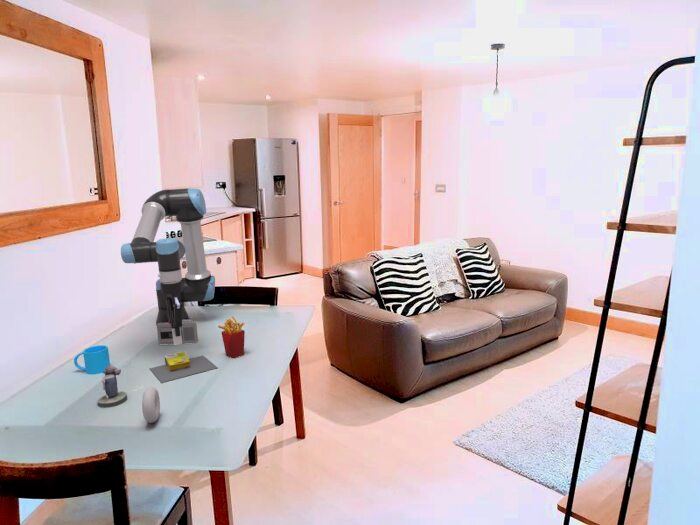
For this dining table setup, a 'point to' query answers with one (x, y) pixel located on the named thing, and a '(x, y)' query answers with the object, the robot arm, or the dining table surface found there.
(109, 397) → the figurine
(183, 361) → the crayon box
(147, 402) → the donut
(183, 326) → the cassette player
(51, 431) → the dining table surface
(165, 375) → the mat
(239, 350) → the french fries
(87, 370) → the mug
